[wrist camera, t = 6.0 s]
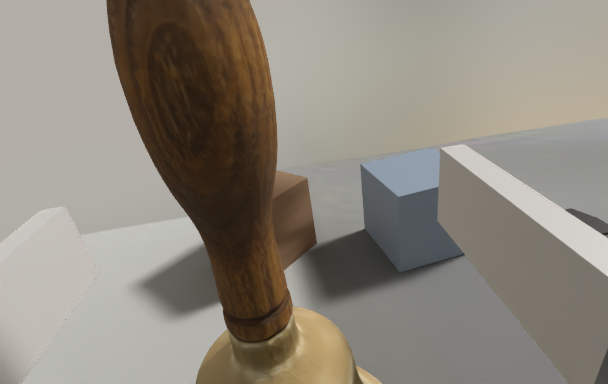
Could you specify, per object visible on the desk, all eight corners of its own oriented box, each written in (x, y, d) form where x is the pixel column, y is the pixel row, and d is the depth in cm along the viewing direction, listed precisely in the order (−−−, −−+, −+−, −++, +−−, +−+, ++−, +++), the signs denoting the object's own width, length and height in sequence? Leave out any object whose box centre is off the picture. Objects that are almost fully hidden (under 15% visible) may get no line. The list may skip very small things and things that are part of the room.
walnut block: (266, 224, 27) (253, 165, 24) (316, 244, 23) (307, 177, 21) (213, 260, 23) (193, 195, 21) (263, 288, 20) (245, 215, 18)
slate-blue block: (429, 212, 25) (431, 147, 23) (476, 251, 21) (484, 174, 18) (365, 229, 24) (360, 164, 22) (399, 273, 20) (398, 196, 18)
